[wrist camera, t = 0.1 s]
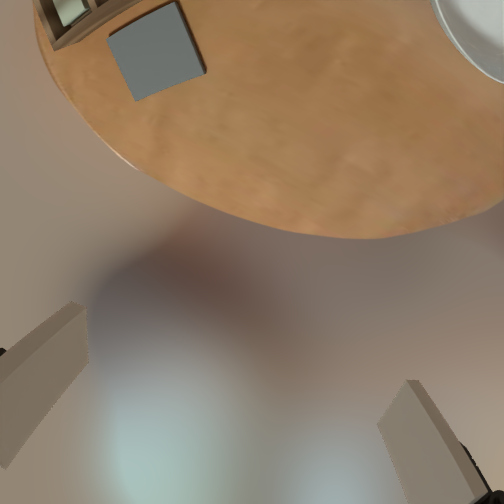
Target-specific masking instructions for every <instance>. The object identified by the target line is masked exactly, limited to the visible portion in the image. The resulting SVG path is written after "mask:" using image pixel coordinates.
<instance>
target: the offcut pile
mask: <svg viewBox="0 0 504 504" xmlns="http://www.w3.org/2000/svg"><path fill="white" fill-rule="evenodd" d="M53 3H54V5H55V7H56V10H57V12H58V15H59V17H60V19H61V21H62V24H63V26H67V25H71V26H72V27H73V26H75V25H76V24H77V23H79V22H80V21H81V20H82V19H84V18H85V17H86V16H88V15H89V14H90V13H92V10H91V8H90V6H89V3H88V1H87V0H53Z"/></svg>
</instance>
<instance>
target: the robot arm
mask: <svg viewBox="0 0 504 504" xmlns="http://www.w3.org/2000/svg"><path fill="white" fill-rule="evenodd" d="M86 309H87V308H86V307H84V306H82V305H79V304H77V303H74V302H72V301H71V302H70V303H68V304H67V305H66V306H64V307H63V308H61V309H60V310H59V311H57V312H56V313H55V314H54V315H52V316H51V317H49V318H48V319H47V320H46V321H44V322H43V323H42V324H40V325H39V326H38V327H36V328H35V329H34V330H33V331H31V332H30V333H29V334H27V335H26V336H25V337H24V338H22V339H21V340H20V341H19V342H17V343H16V344H15V345H14V346H12V347H11V348H10V349H9V350H8V351H6V350H5V349H3V348H0V466H1V467H2V468H3V469H5V470H6V469H7V467H8V466H9V465H10V463H11V462H12V460H13V459H14V457H15V456H16V455H17V453H18V452H19V450H20V449H21V448H22V446H23V445H24V444H25V442H26V441H27V439H28V438H29V437H30V435H31V434H32V433H33V431H34V430H35V429H36V427H37V426H38V425H39V424H40V422H41V421H42V419H43V418H44V417H45V416H46V414H47V413H48V412H49V411H50V409H51V408H52V407H53V405H54V404H55V403H56V402H57V400H58V399H59V398H60V397H61V395H62V394H63V393H64V392H65V390H66V389H67V388H68V387H69V385H70V384H71V383H72V382H73V380H74V379H75V378H76V377H77V376H78V374H79V373H80V372H81V371H82V370H83V368H84V367H85V366H86V365H87V364H88V362H89V361H88V345H87V310H86ZM377 425H378V428H379V430H380V433H381V435H382V437H383V440H384V442H385V445H386V447H387V449H388V452H389V455H390V457H391V460H392V462H393V465H394V467H395V470H396V472H397V475H398V478H399V480H400V483H401V485H402V488H403V491H404V493H405V496H406V499H407V502H408V504H504V491H501V490H497V491H494V492H492V490H491V489H490V487H489V485H488V484H487V482H486V480H485V478H484V477H483V475H482V473H481V471H480V470H479V468H478V466H476V463H475V461H474V460H473V459H472V456H471V455H470V453H469V451H468V450H467V448H466V447H465V446H463V445H462V444H461V443H460V442H459V441H458V439H457V438H456V436H455V434H454V433H453V431H452V430H451V428H450V427H449V425H448V423H447V422H446V420H445V419H444V417H443V416H442V414H441V413H440V411H439V410H438V408H437V407H436V405H435V404H434V402H433V401H432V399H431V398H430V396H429V395H428V393H427V392H426V390H425V389H424V387H423V386H422V385H421V383H420V382H419V381H418V380H406V381H405V382H404V384H403V386H402V387H401V389H400V391H399V392H398V394H397V395H396V397H395V398H394V400H393V401H392V403H391V405H390V406H389V407H388V409H387V410H386V412H385V413H384V415H383V416H382V418H381V419H380V420H379V422H378V423H377Z"/></svg>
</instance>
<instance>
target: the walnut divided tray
mask: <svg viewBox="0 0 504 504" xmlns="http://www.w3.org/2000/svg"><path fill="white" fill-rule="evenodd" d="M87 1H88V3H89V6H90V8H91V10H92V13H90V14H89V15H88V16H86V17H85V18H84V19H82V20H81V21H80V22H79V23H77V24H76V25H75V26H73V27H72V26H71V25H67V26H63V24H62V21H61V19H60V17H59V15H58V12H57V10H56V7H55V5H54V3H53V0H33V2H34V4H35V7H36V10H37V12H38V15H39V17H40V20H41V22H42V25H43V27H44V29H45V32H46V34H47V36H48V39H49V41H50V43H51V45H52V48H53V50H54V51H56V50H59V49H61V48H64V47H67V46H69V45H72V44H75V43H77V42H80V41H81V40H82V39H84V38H85V37H86V36H88V35H89V34H90V33H92V32H93V31H95V30H96V29H97V28H99V27H100V26H102V25H103V24H105V23H106V22H108V21H109V20H111V19H112V18H114V17H115V16H117V15H118V14H120V13H122V12H123V11H125V10H127V9H128V8H130V7H132V6H133V5H135V4H137V3H139V2H141V1H142V0H87Z"/></svg>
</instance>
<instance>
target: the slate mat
mask: <svg viewBox="0 0 504 504" xmlns="http://www.w3.org/2000/svg"><path fill="white" fill-rule="evenodd" d="M106 41H107V43H108V45H109V47H110V49H111V51H112V54H113V56H114V58H115V60H116V62H117V64H118V66H119V68H120V71H121V73H122V75H123V77H124V79H125V81H126V83H127V85H128V87H129V89H130V91H131V93H132V96H133V98H134V100H135V102H136V101H138V100H140V99H142V98H145V97H147V96H149V95H151V94H154V93H156V92H159V91H161V90H163V89H166V88H168V87H171V86H173V85H176V84H179V83H181V82H184V81H187V80H190V79H192V78H195V77H198V76H201V75H204V74H206V72H205V69H204V67H203V64H202V62H201V59H200V57H199V54H198V52H197V49H196V47H195V44H194V42H193V40H192V37H191V35H190V32H189V30H188V28H187V25H186V23H185V20H184V18H183V16H182V13H181V11H180V8H179V6H178V4H177V2H173V3H171V4H168V5H166V6H164V7H162V8H160V9H158V10H156V11H154V12H152V13H150V14H148V15H146V16H144V17H143V18H141V19H139V20H137V21H135V22H133V23H132V24H130V25H128V26H127V27H125V28H123V29H121V30H120V31H118V32H117V33H115V34H113V35H112V36H110V37H109V38H107V39H106Z"/></svg>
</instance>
